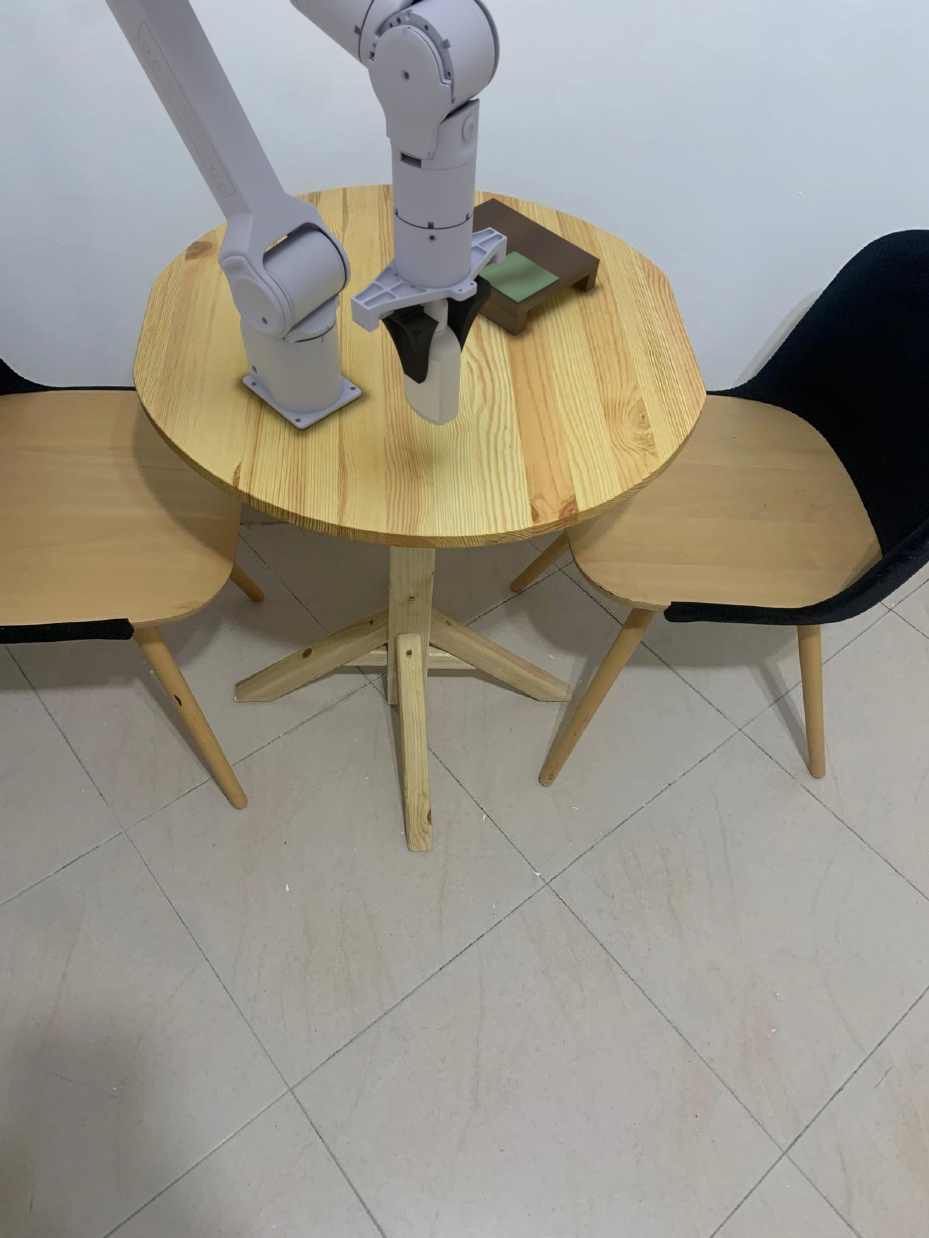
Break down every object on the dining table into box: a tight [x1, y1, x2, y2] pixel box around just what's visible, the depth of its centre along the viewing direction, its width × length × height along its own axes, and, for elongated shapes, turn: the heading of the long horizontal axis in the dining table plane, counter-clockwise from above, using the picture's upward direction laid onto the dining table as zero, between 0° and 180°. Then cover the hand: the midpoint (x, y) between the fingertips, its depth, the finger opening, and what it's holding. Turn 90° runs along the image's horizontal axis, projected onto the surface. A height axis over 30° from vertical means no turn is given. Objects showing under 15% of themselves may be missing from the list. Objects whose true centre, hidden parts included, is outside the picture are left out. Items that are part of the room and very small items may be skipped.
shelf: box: [472, 197, 601, 336], centre depth 90 cm, size 17×14×4 cm
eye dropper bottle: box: [403, 298, 462, 427], centre depth 65 cm, size 4×6×12 cm
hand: (431, 366), depth 66 cm, fingers closed on eye dropper bottle, 3 cm apart
